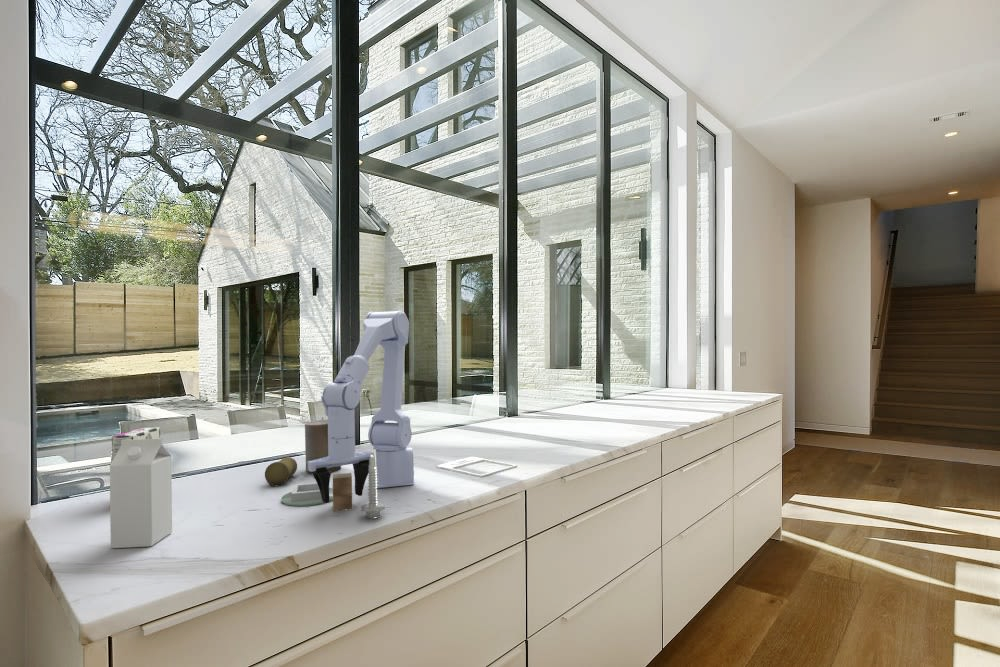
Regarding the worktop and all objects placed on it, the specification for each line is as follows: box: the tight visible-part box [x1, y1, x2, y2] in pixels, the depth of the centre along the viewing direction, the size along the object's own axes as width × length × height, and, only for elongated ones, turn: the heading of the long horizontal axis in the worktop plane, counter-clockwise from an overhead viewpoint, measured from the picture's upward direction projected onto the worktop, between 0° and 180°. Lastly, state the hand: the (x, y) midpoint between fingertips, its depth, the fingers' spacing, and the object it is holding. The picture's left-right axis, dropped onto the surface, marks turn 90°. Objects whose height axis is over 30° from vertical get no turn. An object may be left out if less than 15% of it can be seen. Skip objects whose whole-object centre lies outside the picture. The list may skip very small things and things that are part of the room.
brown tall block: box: [332, 472, 353, 512], centre depth 118 cm, size 4×4×7 cm
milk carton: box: [109, 438, 173, 549], centre depth 100 cm, size 7×7×19 cm
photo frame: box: [435, 456, 518, 478], centre depth 153 cm, size 15×1×18 cm
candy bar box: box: [111, 426, 161, 462], centre depth 126 cm, size 11×5×16 cm, turn 4°
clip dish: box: [280, 482, 333, 507], centre depth 126 cm, size 13×13×2 cm
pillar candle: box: [304, 417, 342, 474], centre depth 153 cm, size 10×10×15 cm
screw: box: [360, 454, 386, 519], centre depth 111 cm, size 13×5×5 cm
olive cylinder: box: [264, 456, 298, 487], centre depth 142 cm, size 6×6×11 cm
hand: (342, 498), depth 118 cm, fingers open, 7 cm apart
